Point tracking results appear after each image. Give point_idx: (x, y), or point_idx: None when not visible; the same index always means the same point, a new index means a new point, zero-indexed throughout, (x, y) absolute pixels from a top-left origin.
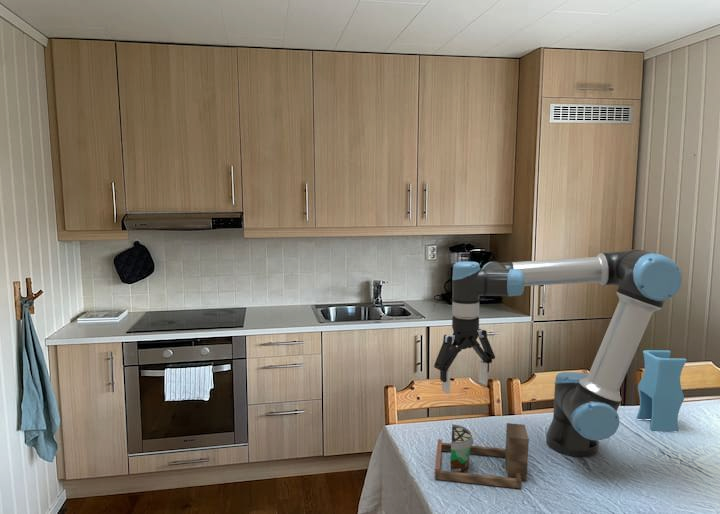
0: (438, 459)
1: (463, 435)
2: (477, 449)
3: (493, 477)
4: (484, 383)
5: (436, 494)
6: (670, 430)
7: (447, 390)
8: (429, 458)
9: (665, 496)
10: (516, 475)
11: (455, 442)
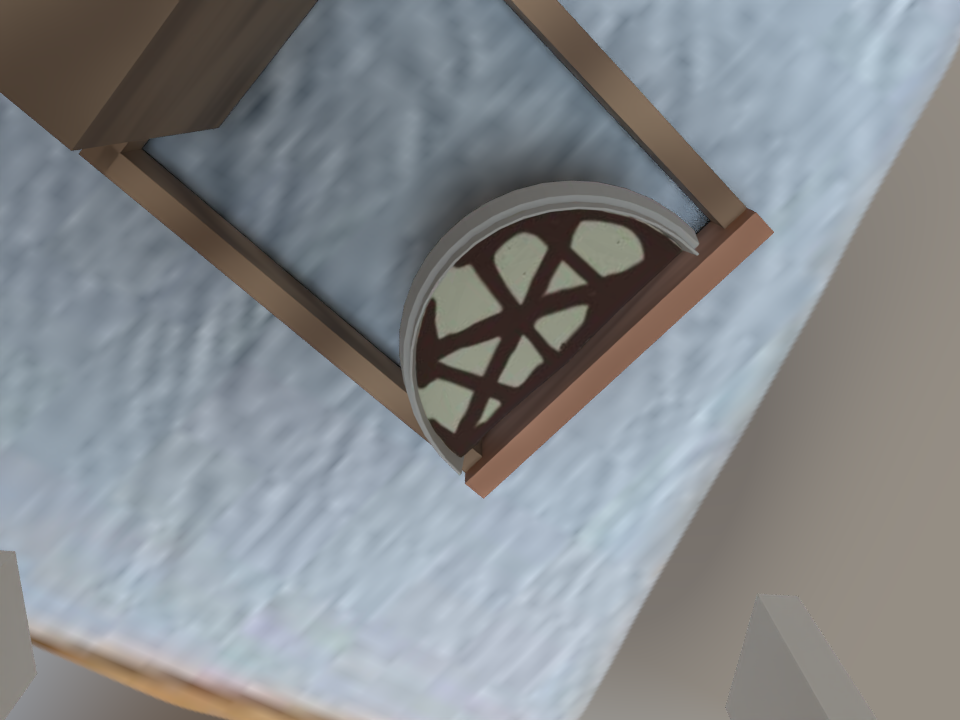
0: (668, 309)
1: (487, 313)
2: (310, 306)
3: None
4: (6, 582)
5: (857, 91)
6: None
7: (819, 641)
8: (595, 414)
9: None
10: None
11: (671, 231)
